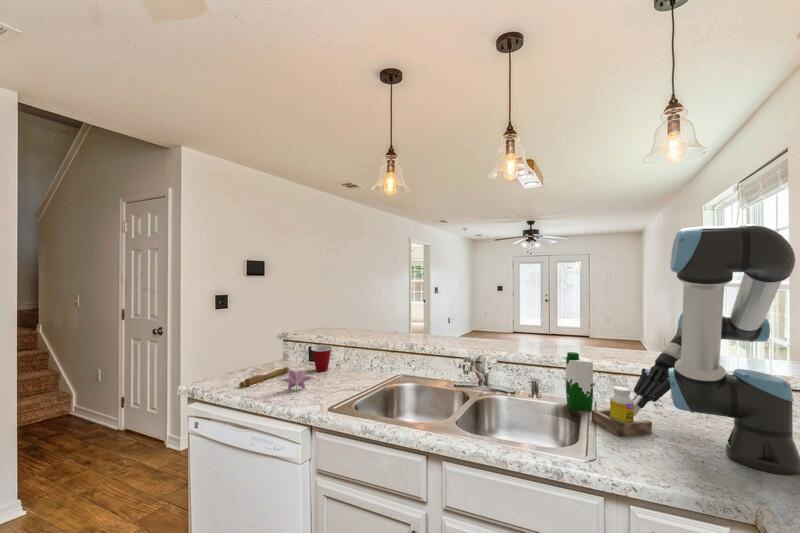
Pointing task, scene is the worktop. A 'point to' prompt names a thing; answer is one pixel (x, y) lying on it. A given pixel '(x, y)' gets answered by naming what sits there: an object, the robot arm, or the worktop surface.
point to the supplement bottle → (621, 405)
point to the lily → (296, 379)
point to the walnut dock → (621, 424)
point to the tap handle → (263, 377)
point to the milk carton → (579, 382)
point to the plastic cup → (321, 357)
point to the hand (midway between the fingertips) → (630, 412)
